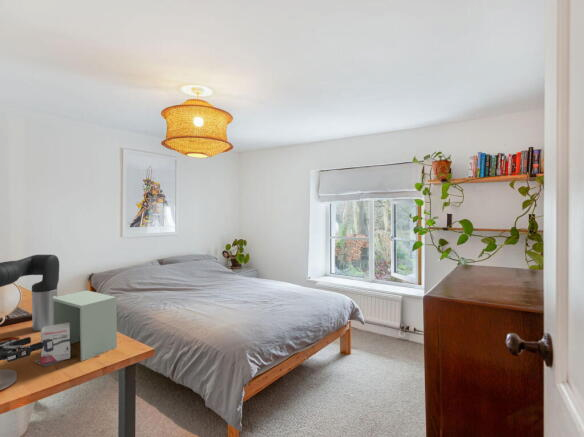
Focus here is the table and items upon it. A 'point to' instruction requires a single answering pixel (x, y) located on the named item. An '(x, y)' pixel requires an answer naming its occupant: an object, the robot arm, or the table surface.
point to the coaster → (48, 363)
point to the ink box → (55, 343)
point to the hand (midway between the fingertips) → (36, 342)
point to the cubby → (88, 320)
